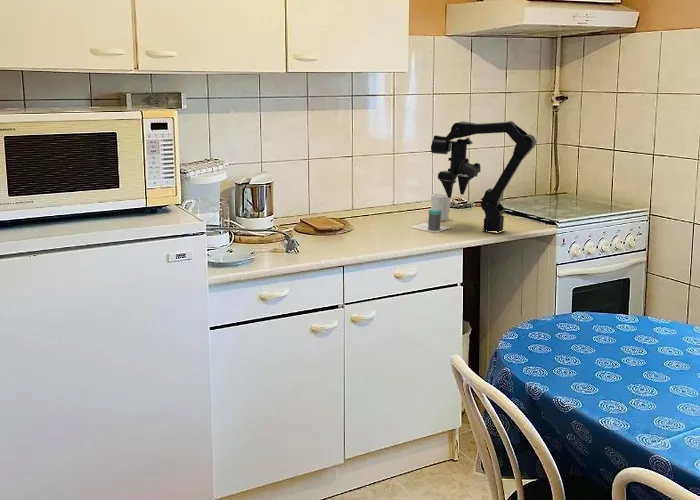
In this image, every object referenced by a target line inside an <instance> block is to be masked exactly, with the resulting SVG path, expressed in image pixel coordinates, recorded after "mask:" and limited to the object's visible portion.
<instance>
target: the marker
mask: <svg viewBox="0 0 700 500" xmlns="http://www.w3.org/2000/svg"><path fill="white" fill-rule="evenodd" d="M440 220H441V210H437V209H432V210H431V209H429V210H428V223H427V224H428V230H433V231H437V230H440V226H441V221H440Z"/></svg>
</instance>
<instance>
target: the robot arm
mask: <svg viewBox="0 0 700 500" xmlns="http://www.w3.org/2000/svg"><path fill="white" fill-rule="evenodd" d="M500 133H501V134H503V133H506V134H507V135H508V136H509V138H510V139H511V140H512V141H513V142H514V143H515V146H514V149H513V152H512V153H513V154H512V156H511V158H510V159H509V161H508V162H507V164H506V166H505V168H504V169H503V171H502V173H501V174H500V176H499V178H498V180H497V181H496V183H495V185H494V187H492V188H491V187H490V188H488V189H486V190H485V192H484V195H483V197H482V198H480V207H481V210H482V211H484V214H485V216H484V218H483V226H482V227H483V229H482V230H484V231H486V230H487V231H497V232H499V231H502V230H504V221H505V216H504V214H505V211H506V208H505V207H504V206H503V205H502V203H501V202H502V199H503V196H504V192H505V191H506V188H507V186H509V184H510V182H511V180H512V179H513V177H514V175H515V174H516V171H517V170H518V168H519V167H520V165H521V163H522V162H523V161H524V159H525V158H527V155H529V154H530V153H531V152H532V151H533V149H534V148H535V146H536V145H537V139H536V137H535V136H534V135H533V134H529V133H527V131H525V130H523V129H522V128H521V127H519V125H517V124H516V123H515V122H514V121H513V120H509V121H503V122H501V121H500V122H485V123H483V122H482V123H474V122H470V121H458V122H455V123H453V125H452V126H451V127H450V132H449V133H448V134H447V135H446V136H442V135H438V134H437V135H434V136H433V139H432V141H431V145H430V151H431V154H436V155H437V154H438V155H448V154H449V153H450V157H448V161H449V162H450V166H449V168H447V170H442V171H441V170H440V171H439V172H438V173H437V179H438V180H439V181H440V182H441V184H442V186H443V189H444V191H445V194H447V196H448V198H451V199H452V194H453V188H454V184H455V183H458V187H459V192H460V195H462V196H463V195H464V194H465V192H466V190H467V186H468V184H469V183H470V181H471V180H472V179H474V178H475V177H476V178H477V177H478V175H479V173H481V172H482V171H481V163H479V162H475V163H470V160H469V158H467V150H468V149H467V148H468V146H469V145H472V144H473V143H474V142H473V141H472V140H471V139H470V136H474V135H480V134H481V135H482V134H483V135H485V134H500ZM465 137H466V138H465ZM463 138H465V139H463ZM456 139H457V140H456ZM457 181H458V182H457ZM484 231H483V232H484Z"/></svg>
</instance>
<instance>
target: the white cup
mask: <svg viewBox="0 0 700 500" xmlns="http://www.w3.org/2000/svg"><path fill="white" fill-rule="evenodd" d="M430 195H431V196H430V201H431V202H430V210H432V209H437V210H441V220H440V222H447V221H448V220H449V215H450V209H451V200H452V197H451V198H448V196H447V194H446V193H444V192H442V193H440V192H437V193H432V194H430Z"/></svg>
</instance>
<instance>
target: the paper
mask: <svg viewBox="0 0 700 500" xmlns="http://www.w3.org/2000/svg"><path fill="white" fill-rule="evenodd" d="M409 228H410V229H414V230H419V231H424V232H428V231H429V232H430V233H433V232H435V234H438V233H441V232H440V231H442V232H444V231H443V230H445V231H447V230H446V229H448V230H451V229H450V228H451V227H447V226H442V225H440V230H437V231H433V230H428V223H426V222H423V223H419V224H415V225H412V226H409ZM437 232H438V233H437Z"/></svg>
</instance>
